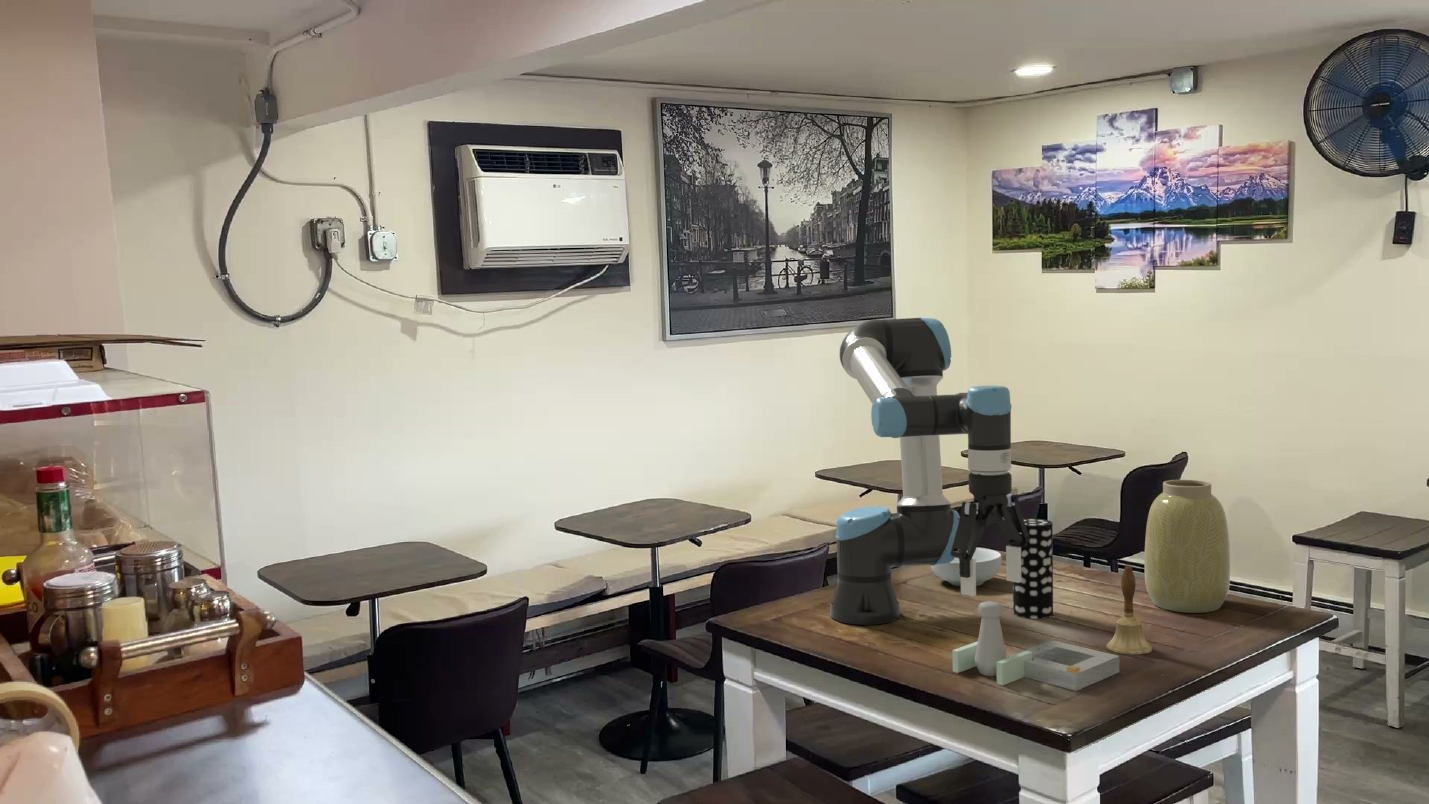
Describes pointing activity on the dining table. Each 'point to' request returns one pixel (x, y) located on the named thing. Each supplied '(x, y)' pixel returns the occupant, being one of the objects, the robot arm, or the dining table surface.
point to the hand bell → (1129, 622)
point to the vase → (1187, 548)
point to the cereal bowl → (985, 567)
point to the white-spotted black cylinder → (1035, 573)
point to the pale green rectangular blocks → (1006, 668)
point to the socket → (1081, 661)
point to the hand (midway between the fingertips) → (991, 588)
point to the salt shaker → (990, 639)
